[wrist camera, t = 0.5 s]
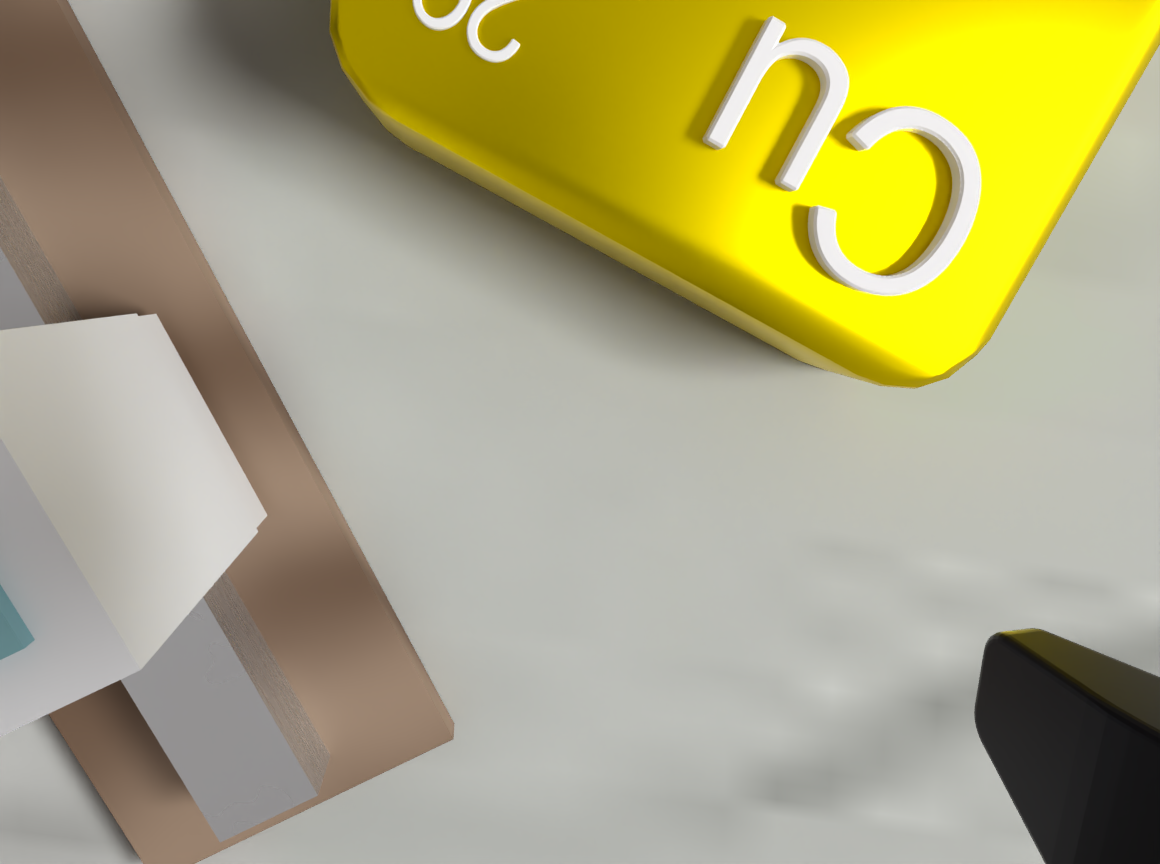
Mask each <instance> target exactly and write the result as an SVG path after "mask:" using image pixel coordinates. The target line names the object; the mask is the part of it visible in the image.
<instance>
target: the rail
mask: <svg viewBox="0 0 1160 864" xmlns="http://www.w3.org/2000/svg"><path fill="white" fill-rule="evenodd" d="M79 320H82V319H81V317H80V315H79V314H78V312H77V310H76V308H75V307H74V305H73V303H72V301H71V299H70V298H69V296H68V294H67V292H66V291H65V289H64V287H63V285H62V284H61V282H60V280H59V278H58V277H57V275H56V273H55V271H54V270H53V268H52V266H51V264H50V263H49V261H48V259H47V257H46V256H45V254H44V252H43V250H42V249H41V247H40V245H39V243H38V242H37V240H36V238H35V236H34V235H33V233H32V231H31V229H30V228H29V226H28V224H27V222H26V221H25V219H24V217H23V215H22V214H21V212H20V210H19V208H18V207H17V205H16V203H15V201H14V200H13V198H12V196H11V194H10V192H9V191H8V189H7V187H6V185H5V184H4V182H3V180H2V178H1V177H0V330H7V329H15V328H23V327H31V326H39V325H47V324H55V323H63V322H71V321H79ZM121 681H122V683H123V684H124V686H125V688H126V689H127V691H128V693H129V694H130V696H131V698H132V699H133V701H134V702H135V704H136V706H137V707H138V709H139V711H140V712H141V714H142V716H143V717H144V719H145V720H146V722H147V724H148V725H149V727H150V729H151V730H152V732H153V734H154V735H155V737H156V738H157V740H158V742H159V743H160V745H161V747H162V748H163V750H164V752H165V753H166V755H167V757H168V758H169V760H170V761H171V763H172V765H173V766H174V768H175V770H176V771H177V773H178V775H179V776H180V778H181V779H182V781H183V783H184V784H185V786H186V788H187V789H188V791H189V793H190V794H191V796H192V797H193V799H194V801H195V802H196V804H197V806H198V807H199V809H200V811H201V812H202V814H203V815H204V817H205V819H206V820H207V822H208V824H209V825H210V827H211V829H212V830H213V832H214V833H215V835H216V837H217V838H218V840H219V842H222V841H224V840H227V839H229V838H231V837H233V836H235V835H237V834H239V833H241V832H243V831H245V830H247V829H249V828H251V827H254V826H256V825H258V824H260V823H262V822H264V821H266V820H268V819H270V818H272V817H274V816H276V815H278V814H281V813H283V812H285V811H287V810H289V809H291V808H293V807H295V806H297V805H299V804H301V803H303V802H306V801H308V800H310V799H312V798H314V797H316V796H318V793H319V790H320V787H321V784H322V781H323V777H324V774H325V771H326V768H327V764H328V761H329V758H330V754H329V752H328V750H327V749H326V747H325V745H324V743H323V742H322V740H321V738H320V736H319V735H318V733H317V731H316V729H315V728H314V726H313V724H312V722H311V721H310V719H309V717H308V715H307V714H306V712H305V710H304V708H303V707H302V705H301V703H300V701H299V699H298V698H297V696H296V694H295V692H294V691H293V689H292V687H291V685H290V684H289V682H288V680H287V678H286V677H285V675H284V673H283V671H282V670H281V668H280V666H279V664H278V663H277V661H276V659H275V657H274V656H273V654H272V652H271V650H270V649H269V647H268V645H267V643H266V642H265V640H264V638H263V636H262V635H261V633H260V631H259V629H258V628H257V626H256V624H255V622H254V621H253V619H252V617H251V615H250V614H249V612H248V610H247V608H246V607H245V605H244V603H243V601H242V599H241V598H240V596H239V594H238V592H237V591H236V589H235V587H234V585H233V584H232V582H231V580H230V578H229V577H228V575H227V573H226V571H225V572H224V573H223V574H222V575H221V576H220V577H219V579H218V580H217V581H216V582H215V583H214V585H213V586H212V587H211V588H210V589H209V590H208V592H207V593H206V594H205V595H204V596H203V597H202V599H201V600H200V601H199V602H198V603H197V605H196V606H195V607H194V608H193V609H192V610H191V612H190V613H189V614H188V615H187V616H186V617H185V619H184V620H183V621H182V622H181V623H180V624H179V626H178V627H177V628H176V629H175V630H174V632H173V633H172V634H171V635H170V636H169V637H168V639H167V640H166V641H165V642H164V643H163V644H162V646H161V647H160V648H159V649H158V650H157V652H156V653H155V654H154V655H153V656H152V657H151V659H150V660H149V661H148V662H147V663H146V664H145V666H144V667H143V668H142V669H141V670H140V671H138V672H135V673H133V674H131V675H129V676H127V677H125V678H123V679H121Z"/></svg>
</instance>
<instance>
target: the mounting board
mask: <svg viewBox="0 0 1160 864" xmlns="http://www.w3.org/2000/svg"><path fill="white" fill-rule="evenodd" d="M0 177H1V178H2V180H3V182H4V184H5V185H6V187H7V189H8V191H9V192H10V194H11V196H12V198H13V200H14V201H15V203H16V205H17V207H18V208H19V210H20V212H21V214H22V215H23V217H24V219H25V221H26V222H27V224H28V226H29V228H30V229H31V231H32V233H33V235H34V236H35V238H36V240H37V242H38V243H39V245H40V247H41V249H42V250H43V252H44V254H45V256H46V257H47V259H48V261H49V263H50V264H51V266H52V268H53V270H54V271H55V273H56V275H57V277H58V278H59V280H60V282H61V284H62V285H63V287H64V289H65V291H66V292H67V294H68V296H69V298H70V299H71V301H72V303H73V305H74V307H75V308H76V310H77V312H78V314H79V315H80V317H81V319H82V320H87V319H95V318H103V317H111V316H119V315H127V314H135V313H137V315H138V316H143V315H151V314H157V316H158V318H159V320H160V322H161V323H162V325H163V327H164V329H165V331H166V332H167V334H168V336H169V338H170V340H171V341H172V343H173V345H174V347H175V349H176V350H177V352H178V354H179V356H180V358H181V360H182V361H183V363H184V365H185V367H186V369H187V370H188V372H189V374H190V376H191V378H192V379H193V381H194V383H195V385H196V387H197V388H198V390H199V392H200V394H201V396H202V398H203V399H204V401H205V403H206V405H207V407H208V408H209V410H210V412H211V414H212V416H213V417H214V419H215V421H216V423H217V425H218V426H219V428H220V430H221V432H222V434H223V436H224V437H225V439H226V441H227V443H228V445H229V446H230V448H231V450H232V452H233V454H234V455H235V457H236V459H237V461H238V463H239V464H240V466H241V468H242V470H243V472H244V474H245V475H246V477H247V479H248V481H249V483H250V484H251V486H252V488H253V490H254V492H255V493H256V495H257V497H258V499H259V501H260V502H261V504H262V506H263V508H264V510H265V512H266V513H267V517H266V518H265V519H264V520H263V521H262V522H261V523H260V525H259V526H258V527H257V530H258V533H257V534H256V535H255V536H254V538H253V539H252V540H251V541H250V542H249V543H248V545H247V546H246V547H245V548H244V549H243V550H242V552H241V553H240V554H239V555H238V556H237V558H236V559H235V560H234V561H233V562H232V563H231V565H230V566H229V567H228V568H227V569H226V570H225V571H226V573H227V575H228V577H229V578H230V580H231V582H232V584H233V585H234V587H235V589H236V591H237V592H238V594H239V596H240V598H241V599H242V601H243V603H244V605H245V607H246V608H247V610H248V612H249V614H250V615H251V617H252V619H253V621H254V622H255V624H256V626H257V628H258V629H259V631H260V633H261V635H262V636H263V638H264V640H265V642H266V643H267V645H268V647H269V649H270V650H271V652H272V654H273V656H274V657H275V659H276V661H277V663H278V664H279V666H280V668H281V670H282V671H283V673H284V675H285V677H286V678H287V680H288V682H289V684H290V685H291V687H292V689H293V691H294V692H295V694H296V696H297V698H298V699H299V701H300V703H301V705H302V707H303V708H304V710H305V712H306V714H307V715H308V717H309V719H310V721H311V722H312V724H313V726H314V728H315V729H316V731H317V733H318V735H319V736H320V738H321V740H322V742H323V743H324V745H325V747H326V749H327V750H328V752H329V754H330V758H329V761H328V764H327V768H326V771H325V774H324V777H323V781H322V784H321V787H320V790H319V793H318V796H316V797H314V798H312V799H310V800H308V801H306V802H303V803H301V804H299V805H297V806H295V807H293V808H291V809H289V810H287V811H285V812H283V813H281V814H278V815H276V816H274V817H272V818H270V819H268V820H266V821H264V822H262V823H260V824H258V825H256V826H254V827H251V828H249V829H247V830H245V831H243V832H241V833H239V834H237V835H235V836H233V837H231V838H229V839H227V840H224V841H222V842H219V840H218V838H217V837H216V835H215V833H214V832H213V830H212V829H211V827H210V825H209V824H208V822H207V820H206V819H205V817H204V815H203V814H202V812H201V811H200V809H199V807H198V806H197V804H196V802H195V801H194V799H193V797H192V796H191V794H190V793H189V791H188V789H187V788H186V786H185V784H184V783H183V781H182V779H181V778H180V776H179V775H178V773H177V771H176V770H175V768H174V766H173V765H172V763H171V761H170V760H169V758H168V757H167V755H166V753H165V752H164V750H163V748H162V747H161V745H160V743H159V742H158V740H157V738H156V737H155V735H154V734H153V732H152V730H151V729H150V727H149V725H148V724H147V722H146V720H145V719H144V717H143V716H142V714H141V712H140V711H139V709H138V707H137V706H136V704H135V702H134V701H133V699H132V698H131V696H130V694H129V693H128V691H127V689H126V688H125V686H124V684H123V683H122V681H121V680H119V681H117V682H114V683H112V684H110V685H108V686H106V687H104V688H102V689H100V690H98V691H96V692H93V693H91V694H89V695H87V696H85V697H83V698H81V699H79V700H77V701H75V702H72V703H70V704H68V705H66V706H64V707H62V708H60V709H58V710H56V711H54V712H51V713H49V716H50V717H51V719H52V720H53V722H54V723H55V725H56V727H57V728H58V730H59V731H60V733H61V734H62V736H63V738H64V739H65V741H66V742H67V744H68V746H69V747H70V749H71V750H72V752H73V753H74V755H75V757H76V758H77V760H78V761H79V763H80V764H81V766H82V768H83V769H84V771H85V772H86V774H87V776H88V777H89V779H90V780H91V782H92V783H93V785H94V787H95V788H96V790H97V791H98V793H99V794H100V796H101V798H102V799H103V801H104V802H105V804H106V806H107V807H108V809H109V810H110V812H111V813H112V815H113V817H114V818H115V820H116V821H117V823H118V824H119V826H120V828H121V829H122V831H123V832H124V834H125V835H126V837H127V839H128V840H129V842H130V843H131V845H132V847H133V848H134V850H135V851H136V853H137V854H138V856H139V858H140V859H141V861H142V862H143V864H195V863H197V862H199V861H201V860H203V859H205V858H207V857H209V856H211V855H213V854H215V853H218V852H220V851H222V850H224V849H226V848H228V847H230V846H232V845H234V844H236V843H238V842H240V841H242V840H245V839H247V838H249V837H251V836H253V835H255V834H257V833H259V832H261V831H263V830H265V829H267V828H269V827H272V826H274V825H276V824H278V823H280V822H282V821H284V820H286V819H288V818H290V817H292V816H294V815H296V814H299V813H301V812H303V811H305V810H307V809H309V808H311V807H313V806H315V805H317V804H319V803H321V802H323V801H326V800H328V799H330V798H332V797H334V796H336V795H338V794H340V793H342V792H344V791H346V790H348V789H350V788H353V787H355V786H357V785H359V784H361V783H363V782H365V781H367V780H369V779H371V778H373V777H375V776H377V775H380V774H382V773H384V772H386V771H388V770H390V769H392V768H394V767H396V766H398V765H400V764H402V763H404V762H407V761H409V760H411V759H413V758H415V757H417V756H419V755H421V754H423V753H425V752H427V751H429V750H432V749H434V748H436V747H438V746H440V745H442V744H444V743H446V742H448V741H450V740H452V739H453V736H454V722H453V720H452V719H451V717H450V715H449V713H448V711H447V709H446V707H445V706H444V704H443V702H442V700H441V698H440V696H439V694H438V692H437V691H436V689H435V687H434V685H433V683H432V681H431V679H430V677H429V676H428V674H427V672H426V670H425V668H424V666H423V664H422V663H421V661H420V659H419V657H418V655H417V653H416V651H415V649H414V648H413V646H412V644H411V642H410V640H409V638H408V636H407V634H406V633H405V631H404V629H403V627H402V625H401V623H400V621H399V620H398V618H397V616H396V614H395V612H394V610H393V608H392V606H391V605H390V603H389V601H388V599H387V597H386V595H385V593H384V591H383V590H382V588H381V586H380V584H379V582H378V580H377V578H376V577H375V575H374V573H373V571H372V569H371V567H370V565H369V563H368V562H367V560H366V558H365V556H364V554H363V552H362V550H361V549H360V547H359V545H358V543H357V541H356V539H355V537H354V535H353V534H352V532H351V530H350V528H349V526H348V524H347V522H346V520H345V519H344V517H343V515H342V513H341V511H340V509H339V507H338V506H337V504H336V502H335V500H334V498H333V496H332V494H331V492H330V491H329V489H328V487H327V485H326V483H325V481H324V479H323V477H322V476H321V474H320V472H319V470H318V468H317V466H316V464H315V463H314V461H313V459H312V457H311V455H310V453H309V451H308V449H307V448H306V446H305V444H304V442H303V440H302V438H301V436H300V434H299V433H298V431H297V429H296V427H295V425H294V423H293V421H292V420H291V418H290V416H289V414H288V412H287V410H286V408H285V406H284V405H283V403H282V401H281V399H280V397H279V395H278V393H277V391H276V390H275V388H274V386H273V384H272V382H271V380H270V378H269V377H268V375H267V373H266V371H265V369H264V367H263V365H262V363H261V362H260V360H259V358H258V356H257V354H256V352H255V350H254V349H253V347H252V345H251V343H250V341H249V339H248V337H247V335H246V334H245V332H244V330H243V328H242V326H241V324H240V322H239V320H238V319H237V317H236V315H235V313H234V311H233V309H232V307H231V306H230V304H229V302H228V300H227V298H226V296H225V294H224V292H223V291H222V289H221V287H220V285H219V283H218V281H217V279H216V277H215V276H214V274H213V272H212V270H211V268H210V266H209V264H208V263H207V261H206V259H205V257H204V255H203V253H202V251H201V249H200V248H199V246H198V244H197V242H196V240H195V238H194V236H193V234H192V233H191V231H190V229H189V227H188V225H187V223H186V221H185V220H184V218H183V216H182V214H181V212H180V210H179V208H178V206H177V205H176V203H175V201H174V199H173V197H172V195H171V193H170V191H169V190H168V188H167V186H166V184H165V182H164V180H163V178H162V177H161V175H160V173H159V171H158V169H157V167H156V165H155V163H154V162H153V160H152V158H151V156H150V154H149V152H148V150H147V149H146V147H145V145H144V143H143V141H142V139H141V137H140V135H139V134H138V132H137V130H136V128H135V126H134V124H133V122H132V120H131V119H130V117H129V115H128V113H127V111H126V109H125V107H124V106H123V104H122V102H121V100H120V98H119V96H118V94H117V92H116V91H115V89H114V87H113V85H112V83H111V81H110V79H109V77H108V76H107V74H106V72H105V70H104V68H103V66H102V64H101V63H100V61H99V59H98V57H97V55H96V53H95V51H94V49H93V48H92V46H91V44H90V42H89V40H88V38H87V36H86V34H85V33H84V31H83V29H82V27H81V25H80V23H79V21H78V20H77V18H76V16H75V14H74V12H73V10H72V8H71V6H70V5H69V3H68V1H67V0H0Z"/></svg>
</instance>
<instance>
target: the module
mask: <svg viewBox="0 0 1160 864" xmlns="http://www.w3.org/2000/svg"><path fill="white" fill-rule="evenodd" d="M266 517H267V513H266V512H265V510H264V508H263V506H262V504H261V502H260V501H259V499H258V497H257V495H256V493H255V492H254V490H253V488H252V486H251V484H250V483H249V481H248V479H247V477H246V475H245V474H244V472H243V470H242V468H241V466H240V464H239V463H238V461H237V459H236V457H235V455H234V454H233V452H232V450H231V448H230V446H229V445H228V443H227V441H226V439H225V437H224V436H223V434H222V432H221V430H220V428H219V426H218V425H217V423H216V421H215V419H214V417H213V416H212V414H211V412H210V410H209V408H208V407H207V405H206V403H205V401H204V399H203V398H202V396H201V394H200V392H199V390H198V388H197V387H196V385H195V383H194V381H193V379H192V378H191V376H190V374H189V372H188V370H187V369H186V367H185V365H184V363H183V361H182V360H181V358H180V356H179V354H178V352H177V350H176V349H175V347H174V345H173V343H172V341H171V340H170V338H169V336H168V334H167V332H166V331H165V329H164V327H163V325H162V323H161V322H160V320H159V318H158V316H157V314H151V315H143V316H138V315H137V313H135V314H127V315H119V316H111V317H103V318H95V319H87V320H79V321H71V322H63V323H55V324H47V325H39V326H31V327H23V328H15V329H7V330H0V737H1V736H3V735H5V734H7V733H9V732H11V731H14V730H16V729H18V728H20V727H22V726H24V725H26V724H28V723H30V722H33V721H35V720H37V719H39V718H41V717H43V716H45V715H47V714H49V713H51V712H54V711H56V710H58V709H60V708H62V707H64V706H66V705H68V704H70V703H72V702H75V701H77V700H79V699H81V698H83V697H85V696H87V695H89V694H91V693H93V692H96V691H98V690H100V689H102V688H104V687H106V686H108V685H110V684H112V683H114V682H117V681H119V680H121V679H123V678H125V677H127V676H129V675H131V674H133V673H135V672H138V671H140V670H141V669H142V668H143V667H144V666H145V664H146V663H147V662H148V661H149V660H150V659H151V657H152V656H153V655H154V654H155V653H156V652H157V650H158V649H159V648H160V647H161V646H162V644H163V643H164V642H165V641H166V640H167V639H168V637H169V636H170V635H171V634H172V633H173V632H174V630H175V629H176V628H177V627H178V626H179V624H180V623H181V622H182V621H183V620H184V619H185V617H186V616H187V615H188V614H189V613H190V612H191V610H192V609H193V608H194V607H195V606H196V605H197V603H198V602H199V601H200V600H201V599H202V597H203V596H204V595H205V594H206V593H207V592H208V590H209V589H210V588H211V587H212V586H213V585H214V583H215V582H216V581H217V580H218V579H219V577H220V576H221V575H222V574H223V573H224V572H225V570H226V569H227V568H228V567H229V566H230V565H231V563H232V562H233V561H234V560H235V559H236V558H237V556H238V555H239V554H240V553H241V552H242V550H243V549H244V548H245V547H246V546H247V545H248V543H249V542H250V541H251V540H252V539H253V538H254V536H255V535H256V534H257V533H258V530H257V527H258V526H259V525H260V523H261V522H262V521H263V520H264V519H265V518H266Z"/></svg>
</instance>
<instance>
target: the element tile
mask: <svg viewBox="0 0 1160 864" xmlns="http://www.w3.org/2000/svg"><path fill="white" fill-rule="evenodd" d="M329 33H330V36H331V39H332V42H333V45H334V48H335V51H336V54H337V57H338V60H339V63H340V65H341V68H342V71H343V72H344V73H345V75H346V76H347V78H348V79H349V81H350V82H351V84H352V85H353V87H354V88H355V89H356V91H357V92H358V94H359V95H360V97H361V98H362V100H363V101H364V102H365V104H366V105H367V106H368V107H369V109H370V110H371V111H372V112H373V114H374V115H375V116H376V117H377V118H378V120H379V121H380V122H381V123H382V125H383V126H384V127H385V128H386V129H387V130H388V131H389V132H390V133H392V134H393V135H394V136H396V137H397V138H398V139H399V140H401V141H402V142H403V143H404V144H406V145H407V146H409V147H410V148H412V149H414V150H416V151H418V152H420V153H421V154H423V155H425V156H427V157H429V158H430V159H432V160H434V161H436V162H438V163H440V164H441V165H443V166H445V167H447V168H449V169H451V170H452V171H454V172H456V173H458V174H460V175H461V176H463V177H465V178H467V179H469V180H471V181H472V182H474V183H476V184H478V185H480V186H482V187H483V188H485V189H487V190H489V191H491V192H492V193H494V194H496V195H498V196H500V197H502V198H503V199H505V200H507V201H509V202H511V203H512V204H514V205H516V206H518V207H520V208H522V209H523V210H525V211H527V212H529V213H531V214H533V215H534V216H536V217H538V218H540V219H542V220H543V221H545V222H547V223H549V224H551V225H553V226H554V227H556V228H558V229H560V230H562V231H564V232H565V233H567V234H569V235H571V236H573V237H574V238H576V239H578V240H580V241H582V242H584V243H585V244H587V245H589V246H591V247H593V248H595V249H596V250H598V251H600V252H602V253H604V254H605V255H607V256H609V257H611V258H613V259H615V260H616V261H618V262H620V263H622V264H624V265H625V266H627V267H629V268H631V269H633V270H635V271H636V272H638V273H640V274H642V275H644V276H646V277H647V278H649V279H651V280H653V281H655V282H656V283H658V284H660V285H662V286H664V287H666V288H667V289H669V290H671V291H673V292H675V293H677V294H678V295H680V296H682V297H684V298H686V299H687V300H689V301H691V302H693V303H695V304H697V305H698V306H700V307H702V308H704V309H706V310H707V311H709V312H711V313H713V314H715V315H717V316H718V317H720V318H722V319H724V320H726V321H728V322H729V323H731V324H733V325H735V326H737V327H738V328H740V329H742V330H744V331H746V332H748V333H749V334H751V335H753V336H755V337H757V338H759V339H760V340H762V341H764V342H766V343H768V344H769V345H771V346H773V347H775V348H777V349H779V350H780V351H782V352H784V353H786V354H788V355H790V356H791V357H793V358H795V359H797V360H799V361H802V362H804V363H807V364H810V365H813V366H815V367H818V368H821V369H824V370H827V371H831V372H834V373H838V374H841V375H845V376H848V377H852V378H855V379H859V380H862V381H865V382H869V383H872V384H876V385H879V386H887V387H900V388H914V389H915V388H918V387H921V386H924V385H928V384H931V383H934V382H937V381H940V380H943V379H946V378H949V377H950V376H951V375H952V374H954V373H955V372H956V371H957V370H959V369H960V368H961V367H962V366H964V365H965V364H966V363H967V362H969V361H970V360H971V359H972V358H973V357H975V356H976V355H977V354H978V353H979V351H980V350H981V349H982V348H983V347H984V346H985V345H986V344H987V342H988V341H989V340H990V339H991V337H992V335H993V333H994V332H995V330H996V328H997V326H998V325H999V323H1000V321H1001V319H1002V318H1003V316H1004V314H1005V313H1006V311H1007V309H1008V307H1009V306H1010V304H1011V302H1012V300H1013V299H1014V297H1015V295H1016V293H1017V292H1018V290H1019V288H1020V286H1021V285H1022V283H1023V281H1024V279H1025V278H1026V276H1027V274H1028V272H1029V271H1030V269H1031V267H1032V266H1033V264H1034V262H1035V260H1036V259H1037V257H1038V255H1039V253H1040V252H1041V250H1042V248H1043V246H1044V245H1045V243H1046V241H1047V239H1048V238H1049V236H1050V234H1051V232H1052V231H1053V229H1054V227H1055V226H1056V224H1057V222H1058V220H1059V219H1060V217H1061V215H1062V213H1063V212H1064V210H1065V208H1066V206H1067V205H1068V203H1069V201H1070V199H1071V198H1072V196H1073V194H1074V192H1075V191H1076V189H1077V187H1078V185H1079V184H1080V182H1081V180H1082V179H1083V177H1084V175H1085V173H1086V172H1087V170H1088V168H1089V166H1090V165H1091V163H1092V161H1093V159H1094V158H1095V156H1096V154H1097V152H1098V151H1099V149H1100V147H1101V145H1102V144H1103V142H1104V140H1105V138H1106V137H1107V135H1108V133H1109V132H1110V130H1111V128H1112V126H1113V125H1114V123H1115V121H1116V119H1117V118H1118V116H1119V114H1120V112H1121V111H1122V109H1123V107H1124V105H1125V104H1126V102H1127V100H1128V98H1129V97H1130V95H1131V93H1132V92H1133V90H1134V88H1135V86H1136V85H1137V83H1138V81H1139V79H1140V78H1141V76H1142V74H1143V72H1144V71H1145V69H1146V67H1147V65H1148V64H1149V62H1150V60H1151V58H1152V57H1153V55H1154V53H1155V51H1156V50H1157V48H1158V46H1159V45H1160V0H331V1H330V26H329Z"/></svg>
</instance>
